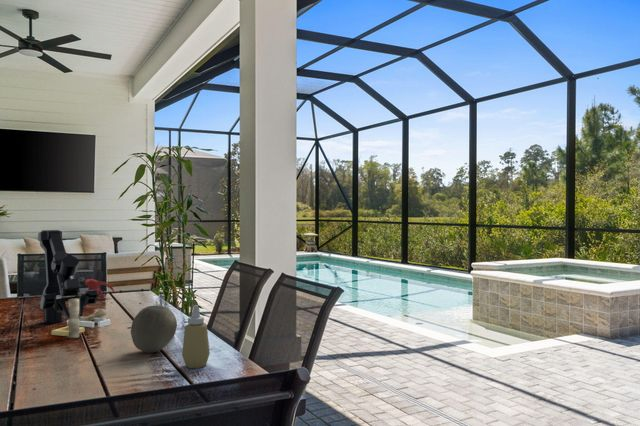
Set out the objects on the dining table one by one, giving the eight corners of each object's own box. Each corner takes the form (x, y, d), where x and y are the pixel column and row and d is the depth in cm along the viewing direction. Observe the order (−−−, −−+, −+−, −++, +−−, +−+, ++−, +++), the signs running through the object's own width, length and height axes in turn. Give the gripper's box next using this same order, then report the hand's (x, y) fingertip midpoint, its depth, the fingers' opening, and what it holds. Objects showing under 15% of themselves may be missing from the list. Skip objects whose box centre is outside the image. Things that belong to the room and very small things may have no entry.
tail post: (66, 337, 188) (66, 299, 188) (73, 335, 192) (73, 298, 192) (74, 338, 187) (74, 300, 187) (81, 336, 191) (81, 298, 191)
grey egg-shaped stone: (151, 359, 159) (150, 311, 159) (121, 353, 166) (121, 307, 167) (185, 349, 171) (185, 304, 171) (156, 344, 178) (156, 301, 178)
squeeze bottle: (184, 362, 156) (184, 303, 156) (211, 361, 157) (211, 302, 157) (179, 370, 148) (179, 308, 148) (207, 369, 149) (207, 307, 149)
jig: (36, 333, 196) (36, 328, 196) (81, 321, 217) (81, 316, 218) (69, 336, 191) (69, 330, 191) (112, 323, 213) (112, 318, 213)
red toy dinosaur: (71, 304, 286) (58, 286, 276) (78, 291, 293) (67, 273, 283) (117, 305, 282) (106, 287, 272) (124, 292, 288) (114, 274, 278)
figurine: (69, 331, 208) (107, 318, 213) (66, 320, 207) (104, 308, 213) (70, 329, 211) (108, 317, 216) (66, 318, 211) (105, 307, 216)
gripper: (43, 272, 187) (50, 306, 178) (97, 268, 199) (106, 300, 190) (38, 291, 193) (45, 325, 184) (91, 286, 205) (99, 318, 196)
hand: (74, 317), depth 188 cm, fingers open, 4 cm apart
